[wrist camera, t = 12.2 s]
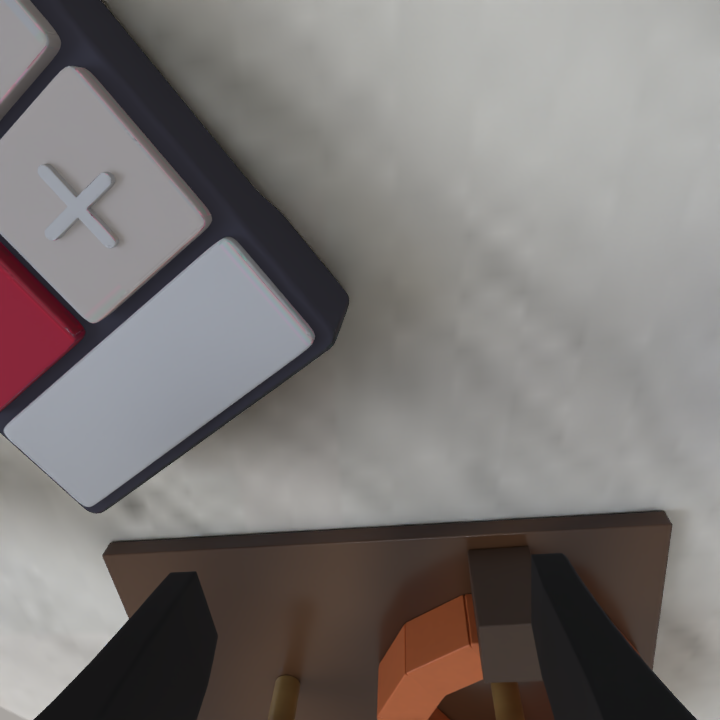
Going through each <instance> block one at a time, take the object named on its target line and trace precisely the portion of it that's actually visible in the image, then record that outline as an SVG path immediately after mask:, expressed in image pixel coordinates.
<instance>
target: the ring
mask: <svg viewBox="0 0 720 720" xmlns="http://www.w3.org/2000/svg"><path fill="white" fill-rule="evenodd" d="M467 553H468V563H469V573H470V583H471V593H472V594H466V595H465V596H464V595H461V596H459V597H457V598H455V599H453V600H451V601H449V602H447V603H445V604H443V605H441V606H439V607H437V608H435V609H433V610H431V611H428V612H426V613H424V614H422V615H420V616H418V617H416V618H414V619H412V620H410V621H408V622H406V624H404V626H403V627H402V629H401V630H400V632H399V634H398V635H397V637H396V638H395V640H394V642H393V643H392V645H391V646H390V648H389V650H388V651H387V653H386V654H385V656H384V658H383V659H382V661H381V662H380V664H379V670H378V699H377V720H450V719H449V718H448V717H447V716H446V715H445V714H443V713H442V712H441V711H440V710H439V709H438V708H437V706H438V705H439V704H440V702H441V701H442V699H443V698H444V697H445V696H446V695H448V694H450V693H453V692H455V691H457V690H459V689H462V688H464V687H466V686H469V685H471V684H473V683H476V682H478V681H480V680H483V681H484V683H501V682H524V681H543V679H542V675H541V670H540V666H539V661H538V656H537V651H536V646H535V641H534V635H533V630H532V625H531V553H530V549H529V547H528V546H521V547H507V548H493V549H479V550H468V552H467ZM610 620H611V619H610ZM614 625H615V624H614ZM615 626H616V625H615ZM618 630H619V629H618ZM619 631H620V630H619ZM620 632H621V631H620ZM621 634H622V632H621ZM622 635H623V634H622ZM623 636H624V635H623ZM624 637H625V636H624ZM625 639H626V640H627V641H628V639H627V638H626V637H625ZM628 642H629V641H628ZM629 644H630V645H631V646H632V647H633V645H632V644H631V643H630V642H629ZM633 649H634V650H635V651H636V652H637V653H638V655H639V656H640V654H639V652H638V651H637V650H636V649H635V648H634V647H633Z"/></svg>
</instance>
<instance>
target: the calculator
mask: <svg viewBox="0 0 720 720" xmlns="http://www.w3.org/2000/svg"><path fill="white" fill-rule="evenodd" d="M348 305H349V298H348V295H347V293H346V292H345V291H344V289H343V288H342V287H341V286H340V284H339V283H338V282H337V280H336V279H335V278H334V277H333V276H332V274H331V273H330V272H329V271H328V269H327V268H326V267H325V266H324V265H323V263H322V262H321V261H320V260H319V258H318V257H317V256H316V255H315V254H314V252H313V251H312V250H311V249H310V247H309V246H308V245H307V244H306V243H305V241H304V240H303V239H302V238H301V236H300V235H299V234H298V233H297V231H296V230H295V229H294V228H293V227H292V225H291V224H290V223H289V222H288V220H287V219H286V218H285V217H284V216H283V215H282V213H281V212H279V211H278V210H277V209H276V208H275V207H274V206H273V205H272V204H271V203H269V202H268V201H267V200H266V199H265V198H264V197H263V196H262V195H260V194H259V193H258V192H257V191H256V190H255V188H254V187H253V186H252V185H251V184H250V182H249V181H248V180H247V179H246V177H245V176H244V175H243V174H242V173H241V171H240V170H239V169H238V168H237V166H236V165H235V164H234V163H233V162H232V160H231V159H230V158H229V157H228V155H227V154H226V153H225V152H224V151H223V149H222V148H221V147H220V146H219V144H218V143H217V142H216V141H215V140H214V138H213V137H212V136H211V135H210V133H209V132H208V131H207V130H206V129H205V127H204V126H203V125H202V124H201V122H200V121H199V120H198V119H197V118H196V116H195V115H194V114H193V113H192V111H191V110H190V109H189V108H188V107H187V105H186V104H185V103H184V102H183V100H182V99H181V98H180V97H179V96H178V94H177V93H176V92H175V91H174V89H173V88H172V87H171V86H170V85H169V83H168V82H167V81H166V80H165V78H164V77H163V76H162V75H161V74H160V72H159V71H158V70H157V69H156V67H155V66H154V65H153V64H152V63H151V61H150V60H149V59H148V58H147V57H146V55H145V54H144V53H143V52H142V50H141V49H140V48H139V47H138V46H137V44H136V43H135V42H134V41H133V39H132V38H131V37H130V36H129V35H128V33H127V32H126V31H125V30H124V28H123V27H122V26H121V25H120V24H119V22H118V21H117V20H116V19H115V17H114V16H113V15H112V14H111V13H110V11H109V10H108V9H107V8H106V6H105V5H104V4H103V3H102V2H101V0H0V433H1V434H2V435H3V436H5V437H6V438H7V439H8V440H9V441H10V442H11V443H12V444H13V445H15V446H16V447H17V448H18V449H19V450H20V451H21V452H22V453H23V454H25V455H26V456H27V457H28V458H29V459H30V460H31V461H32V462H33V463H35V464H36V465H37V466H38V467H39V468H40V469H41V470H42V471H43V472H44V473H46V474H47V475H48V476H49V477H50V478H51V479H52V480H53V481H54V482H56V483H57V484H58V485H59V486H60V487H61V488H62V489H63V490H64V491H66V492H67V493H68V494H69V495H70V496H71V497H72V498H73V499H74V500H76V501H77V502H78V503H79V504H80V505H81V506H82V507H84V508H85V509H86V510H87V511H89V512H91V513H102V512H104V511H105V510H107V509H108V508H110V507H111V506H113V505H114V504H115V503H117V502H118V501H120V500H121V499H122V498H124V497H125V496H127V495H128V494H129V493H131V492H132V491H134V490H135V489H136V488H138V487H139V486H140V485H142V484H143V483H145V482H146V481H147V480H149V479H150V478H152V477H153V476H154V475H156V474H157V473H158V472H160V471H161V470H163V469H164V468H165V467H167V466H168V465H170V464H171V463H172V462H174V461H175V460H177V459H178V458H179V457H181V456H182V455H183V454H185V453H186V452H188V451H189V450H190V449H192V448H193V447H195V446H196V445H197V444H199V443H200V442H202V441H203V440H204V439H206V438H207V437H208V436H210V435H211V434H213V433H214V432H215V431H217V430H218V429H220V428H221V427H222V426H224V425H225V424H226V423H228V422H229V421H231V420H232V419H233V418H235V417H236V416H238V415H239V414H240V413H242V412H243V411H245V410H246V409H247V408H249V407H250V406H251V405H253V404H254V403H256V402H257V401H258V400H260V399H261V398H263V397H264V396H265V395H267V394H268V393H269V392H271V391H272V390H274V389H275V388H276V387H278V386H279V385H281V384H282V383H283V382H285V381H286V380H288V379H289V378H290V377H292V376H293V375H294V374H296V373H297V372H299V371H300V370H301V369H303V368H304V367H306V366H307V365H308V364H310V363H311V362H312V361H314V360H315V359H317V358H318V357H319V356H321V355H322V354H324V353H325V352H326V351H328V350H329V349H330V348H331V347H332V346H333V345H334V343H335V341H336V339H337V336H338V333H339V331H340V328H341V325H342V322H343V320H344V317H345V314H346V311H347V308H348Z"/></svg>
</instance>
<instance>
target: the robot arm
mask: <svg viewBox="0 0 720 720" xmlns="http://www.w3.org/2000/svg"><path fill="white" fill-rule="evenodd" d="M531 625H532V630H533V635H534V641H535V646H536V651H537V656H538V661H539V666H540V670H541V675H542V679H543V682H544V686H545V689H546V692H547V695H548V699H549V702H550V705H551V709H552V712H553V715H554V719H555V720H697V719H696V718H695V717H694V716H693V715H692V714H691V713H690V712H689V711H688V710H687V709H686V707H685V706H684V705H683V704H682V703H681V702H680V701H679V700H678V699H677V698H676V697H675V696H674V695H673V693H672V692H671V691H670V690H669V689H668V688H667V687H666V686H665V685H664V683H663V682H662V681H661V680H660V679H659V678H658V677H657V676H656V674H655V673H654V672H653V671H652V670H651V669H650V668H649V666H648V665H647V664H646V663H645V662H644V660H643V659H642V658H641V657H640V656H639V655H638V653H637V652H636V651H635V650H634V649H633V647H632V646H631V645H630V644H629V642H628V641H627V640H626V639H625V637H624V636H623V635H622V634H621V632H620V631H619V630H618V628H617V627H616V626H615V625H614V623H613V622H612V621H611V620H610V618H609V617H608V616H607V614H606V613H605V612H604V610H603V609H602V608H601V606H600V605H599V604H598V602H597V601H596V599H595V598H594V597H593V595H592V594H591V593H590V591H589V590H588V588H587V587H586V585H585V584H584V583H583V581H582V580H581V578H580V577H579V575H578V574H577V572H576V570H575V569H574V567H573V566H572V564H571V563H570V561H569V559H568V558H567V557H566V556H565V555H564V554H563V553H551V554H531ZM217 639H218V634H217V631H216V628H215V625H214V622H213V619H212V616H211V613H210V610H209V607H208V604H207V601H206V598H205V595H204V592H203V589H202V587H201V584H200V581H199V578H198V575H197V572H196V571H192V572H172V573H169V574H168V575H167V577H166V578H165V579H164V580H163V581H162V582H161V583H160V584H159V586H158V587H157V588H156V589H155V590H154V591H153V592H152V594H151V595H150V596H149V597H148V598H147V599H146V600H145V602H144V603H143V604H142V605H141V606H140V607H139V608H138V610H137V611H136V612H135V613H134V614H133V615H132V616H131V618H130V619H129V620H128V621H127V622H126V623H125V624H124V626H123V627H122V628H121V629H120V630H119V631H118V632H117V634H116V635H115V636H114V637H113V638H112V639H111V640H110V641H109V642H108V644H107V645H106V646H105V647H104V648H103V649H102V650H101V651H100V652H99V654H98V655H97V656H96V657H95V658H94V659H93V660H92V661H91V662H90V663H89V664H88V665H87V666H86V668H85V669H84V670H83V671H82V672H81V673H80V674H79V675H78V676H77V677H76V678H75V679H74V680H73V681H72V682H71V683H70V684H69V685H68V686H67V687H66V688H65V689H64V690H63V691H62V692H61V693H60V694H59V695H58V697H57V698H56V699H55V700H54V701H53V702H52V703H51V704H50V705H48V706H47V707H46V708H45V709H44V710H43V711H42V712H41V713H40V714H39V715H38V716H37V717H36V718H35V719H34V720H197V717H198V714H199V711H200V708H201V705H202V702H203V699H204V696H205V693H206V690H207V686H208V683H209V678H210V674H211V669H212V665H213V660H214V655H215V650H216V644H217Z"/></svg>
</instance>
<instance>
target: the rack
mask: <svg viewBox="0 0 720 720" xmlns="http://www.w3.org/2000/svg"><path fill="white" fill-rule="evenodd" d="M671 530H672V523H671V522H670V520H669V518H668V517H667V515H666V514H665V512H664V511H657V512H640V513H622V514H605V515H587V516H570V517H552V518H534V519H517V520H499V521H482V522H464V523H447V524H429V525H411V526H394V527H376V528H359V529H341V530H324V531H306V532H288V533H271V534H253V535H236V536H218V537H200V538H183V539H165V540H148V541H130V542H113V543H110V544H109V545H108V547H107V549H106V550H105V552H104V553H103V559H104V561H105V564H106V566H107V568H108V571H109V573H110V575H111V578H112V580H113V582H114V585H115V587H116V589H117V592H118V594H119V596H120V599H121V601H122V603H123V606H124V608H125V610H126V613H127V615H128V617H129V619H130V618H131V616H132V615H133V614H134V613H135V612H136V611H137V610H138V608H139V607H140V606H141V605H142V604H143V603H144V602H145V600H146V599H147V598H148V597H149V596H150V595H151V594H152V592H153V591H154V590H155V589H156V588H157V587H158V586H159V584H160V583H161V582H162V581H163V580H164V579H165V578H166V577H167V575H168V574H169V573H172V572H192V571H196V572H197V575H198V578H199V581H200V584H201V587H202V589H203V592H204V595H205V598H206V601H207V604H208V607H209V610H210V613H211V616H212V619H213V622H214V625H215V628H216V631H217V634H218V639H217V644H216V650H215V655H214V660H213V665H212V669H211V674H210V678H209V683H208V686H207V690H206V693H205V696H204V699H203V702H202V705H201V708H200V711H199V714H198V717H197V720H377V699H378V670H379V664H380V662H381V661H382V659H383V658H384V656H385V654H386V653H387V651H388V650H389V648H390V646H391V645H392V643H393V642H394V640H395V638H396V637H397V635H398V634H399V632H400V630H401V629H402V627H403V626H404V624H406V622H408V621H410V620H412V619H414V618H416V617H418V616H420V615H422V614H424V613H426V612H428V611H431V610H433V609H435V608H437V607H439V606H441V605H443V604H445V603H447V602H449V601H451V600H453V599H455V598H457V597H459V596H461V595H464V596H465V595H466V594H472V593H471V583H470V573H469V563H468V553H467V552H468V550H479V549H493V548H507V547H521V546H528V547H529V549H530V553H531V554H551V553H563V554H564V555H565V556H566V557H567V558H568V559H569V561H570V563H571V564H572V566H573V567H574V569H575V570H576V572H577V574H578V575H579V577H580V578H581V580H582V581H583V583H584V584H585V585H586V587H587V588H588V590H589V591H590V593H591V594H592V595H593V597H594V598H595V599H596V601H597V602H598V604H599V605H600V606H601V608H602V609H603V610H604V612H605V613H606V614H607V616H608V617H609V618H610V619H611V621H612V622H613V623H614V624H615V625H616V627H617V628H618V629H619V630H620V631H621V632H622V634H623V635H624V636H625V637H626V638H627V639H628V641H629V642H630V643H631V644H632V645H633V647H634V648H635V649H636V650H637V651H638V652H639V654H640V657H641V658H642V659H643V660H644V662H645V663H646V664H647V665H648V666H649V668H650V669H651V670H653V662H654V655H655V648H656V640H657V633H658V626H659V618H660V611H661V604H662V596H663V589H664V582H665V574H666V567H667V560H668V552H669V545H670V538H671ZM437 708H438V709H439V710H440V711H441V712H442V713H443V714H445V715H446V716H447V717H448V718H449V719H450V720H555V719H554V715H553V712H552V709H551V705H550V702H549V699H548V695H547V692H546V689H545V686H544V682H543V681H524V682H501V683H484V681H483V680H480V681H478V682H476V683H473V684H471V685H469V686H466V687H464V688H462V689H459V690H457V691H455V692H453V693H450V694H448V695H446V696H445V697H444V698H443V699H442V701H441V702H440V704H439V705H438V706H437Z"/></svg>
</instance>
